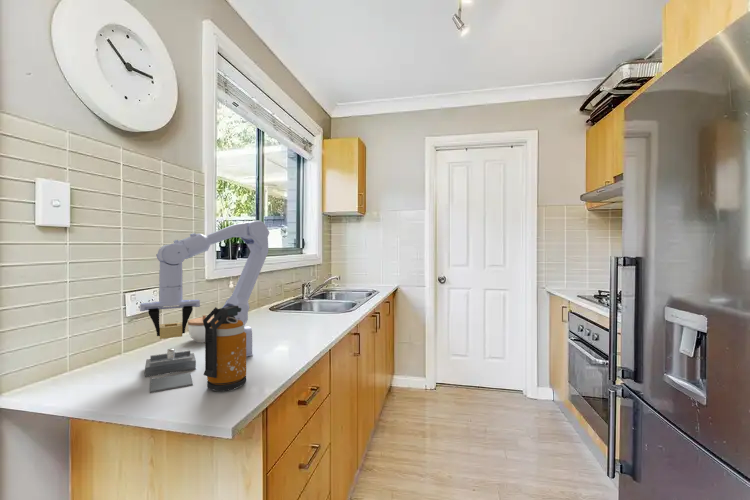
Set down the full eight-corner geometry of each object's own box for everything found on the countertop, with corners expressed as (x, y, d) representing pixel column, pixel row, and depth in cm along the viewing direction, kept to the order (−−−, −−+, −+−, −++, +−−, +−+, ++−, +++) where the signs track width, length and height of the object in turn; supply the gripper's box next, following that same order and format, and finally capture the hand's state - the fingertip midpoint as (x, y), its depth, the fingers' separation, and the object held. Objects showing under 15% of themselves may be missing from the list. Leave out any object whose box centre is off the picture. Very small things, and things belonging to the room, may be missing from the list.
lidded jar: (198, 346, 121) (198, 319, 121) (181, 341, 127) (181, 316, 127) (225, 339, 130) (225, 314, 130) (209, 335, 136) (209, 311, 136)
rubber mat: (190, 374, 94) (190, 372, 94) (192, 385, 87) (192, 383, 87) (151, 380, 90) (151, 378, 90) (149, 392, 82) (149, 391, 82)
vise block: (193, 361, 105) (193, 343, 105) (195, 369, 98) (195, 349, 98) (146, 368, 99) (146, 349, 99) (145, 377, 92) (145, 356, 92)
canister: (253, 381, 89) (254, 304, 89) (221, 399, 79) (221, 311, 78) (225, 377, 92) (226, 302, 92) (191, 393, 81) (191, 309, 81)
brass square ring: (181, 332, 102) (181, 322, 102) (182, 336, 97) (182, 325, 97) (160, 334, 99) (160, 324, 99) (159, 339, 95) (159, 328, 95)
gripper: (198, 283, 105) (198, 328, 106) (141, 286, 98) (141, 334, 98) (200, 285, 99) (200, 333, 99) (139, 288, 92) (139, 339, 92)
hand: (171, 334), depth 98 cm, fingers closed on brass square ring, 5 cm apart
